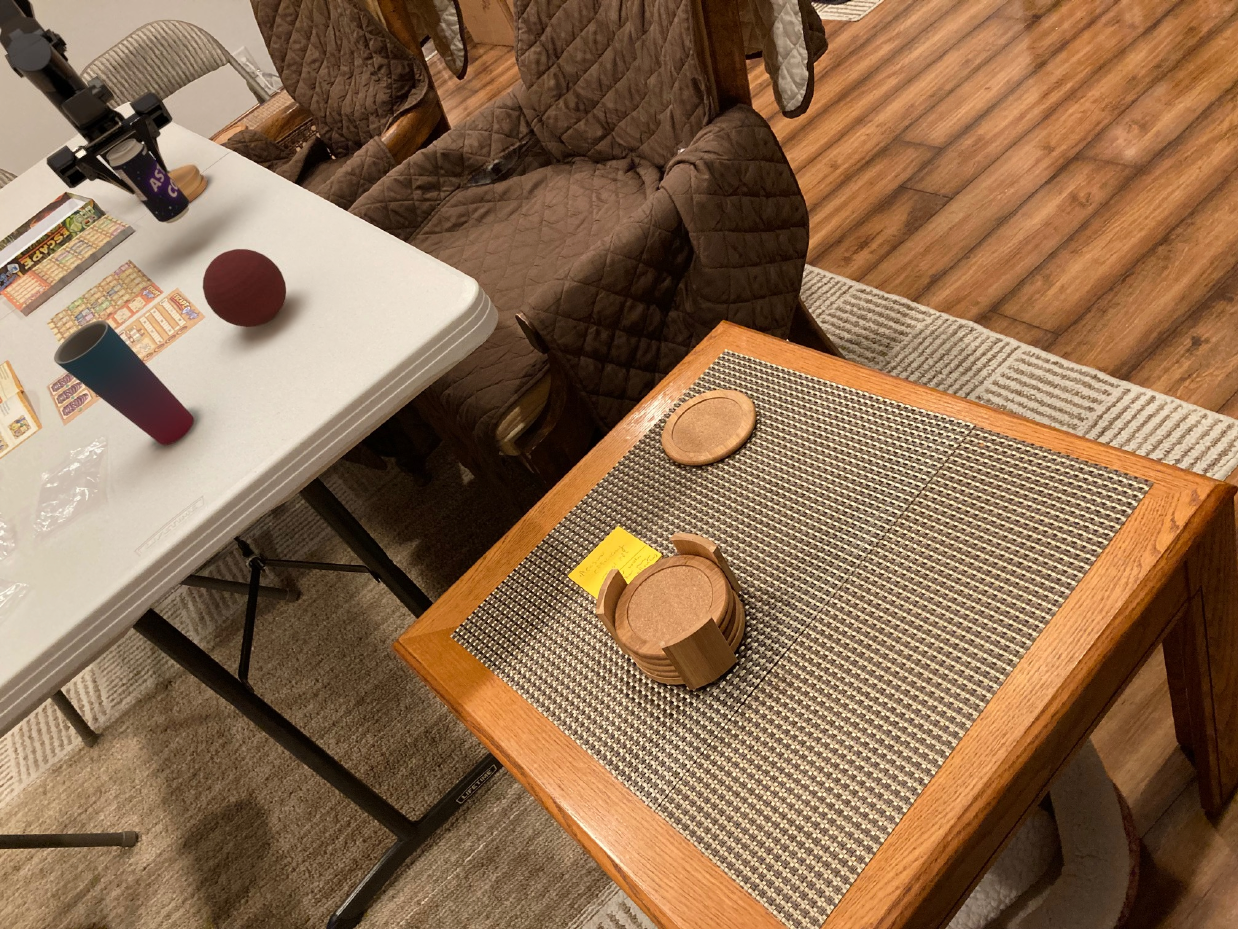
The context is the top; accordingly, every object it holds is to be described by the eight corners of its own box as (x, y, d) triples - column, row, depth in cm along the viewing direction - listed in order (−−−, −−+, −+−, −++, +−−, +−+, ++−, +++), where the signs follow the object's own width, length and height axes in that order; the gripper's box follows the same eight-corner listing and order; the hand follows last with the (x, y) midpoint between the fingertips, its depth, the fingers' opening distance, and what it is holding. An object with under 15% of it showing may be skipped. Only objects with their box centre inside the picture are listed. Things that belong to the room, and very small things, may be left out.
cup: (160, 418, 109) (66, 332, 99) (205, 401, 108) (115, 312, 98) (145, 457, 105) (44, 371, 94) (192, 440, 103) (96, 350, 93)
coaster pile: (157, 201, 161) (145, 187, 159) (203, 172, 162) (192, 158, 160) (162, 219, 154) (150, 205, 152) (211, 189, 155) (199, 174, 153)
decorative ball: (231, 353, 114) (178, 295, 107) (241, 309, 121) (192, 252, 114) (298, 324, 112) (249, 263, 105) (304, 281, 119) (258, 222, 112)
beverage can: (182, 222, 134) (124, 155, 125) (155, 229, 136) (97, 163, 128) (199, 200, 137) (144, 133, 129) (172, 207, 139) (116, 141, 131)
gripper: (-4, 110, 121) (74, 194, 121) (110, 37, 125) (185, 119, 125) (33, 148, 131) (104, 226, 132) (137, 80, 136) (206, 155, 136)
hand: (149, 181), depth 131 cm, fingers closed on beverage can, 5 cm apart
